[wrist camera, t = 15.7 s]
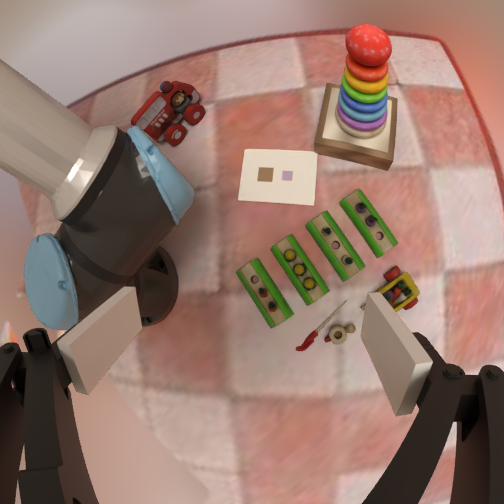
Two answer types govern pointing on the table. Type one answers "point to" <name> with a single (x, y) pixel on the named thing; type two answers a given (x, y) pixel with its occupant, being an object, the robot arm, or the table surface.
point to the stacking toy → (364, 82)
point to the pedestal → (348, 146)
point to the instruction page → (278, 176)
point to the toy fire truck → (169, 112)
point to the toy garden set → (342, 259)
